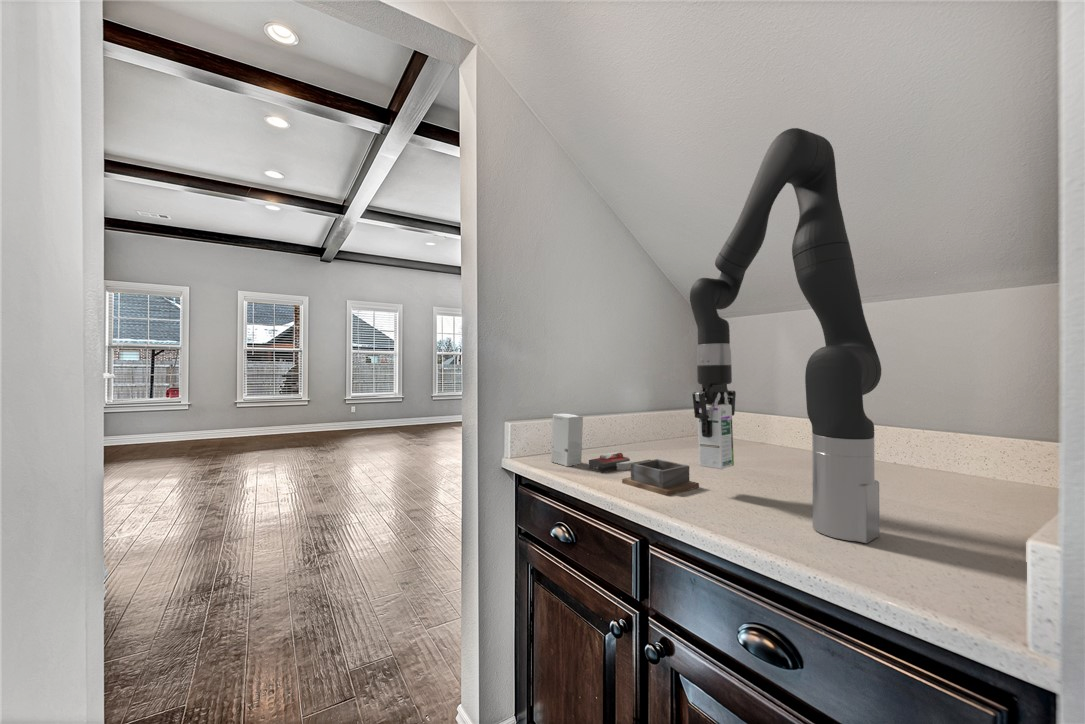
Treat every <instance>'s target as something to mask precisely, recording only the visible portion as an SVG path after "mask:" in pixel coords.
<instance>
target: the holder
mask: <svg viewBox="0 0 1085 724" xmlns="http://www.w3.org/2000/svg"><path fill="white" fill-rule="evenodd" d="M648 460H649V461H644V460H643V461H644V462H639V461H638V462H639V463H633V464H631V469H630V476H629V477H625V478H622V480H621V482H622V484H625V485H627V486H632V487H636V488H640V489H643V490H645V491H649V492H652V493H656V494H659V495H663V496H671V495H675V494H678V493H682V492H687V491H689V490H693V489H697V488H699V487H700V483H699V482H695V481H692V480H690V465H686V464H682V463H677V462H674V461H673V462H672V461H670V460H669V461H668V460H663V459H659V458H656V459H655V458H654V459H648Z"/></svg>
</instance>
